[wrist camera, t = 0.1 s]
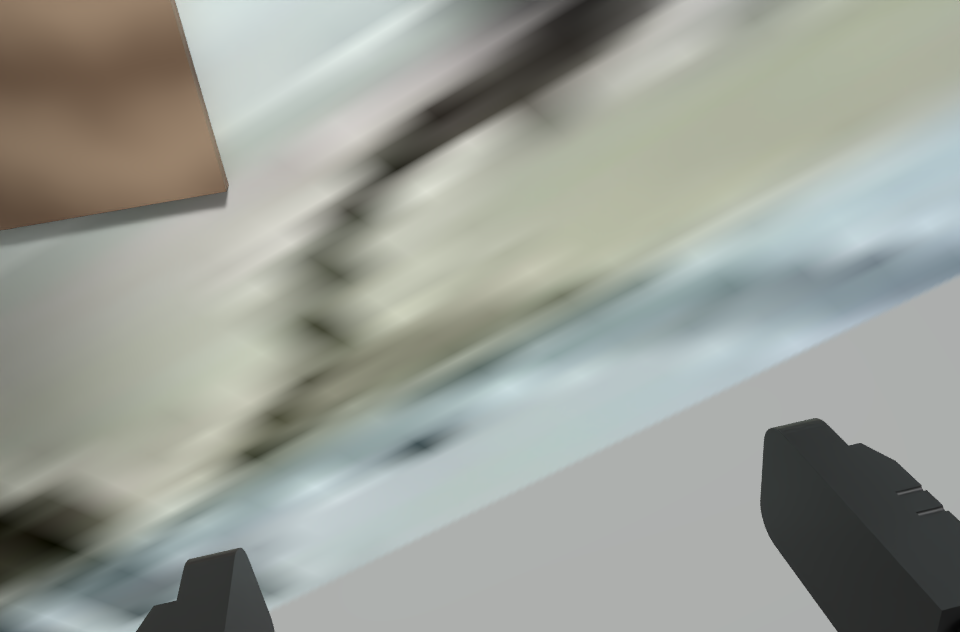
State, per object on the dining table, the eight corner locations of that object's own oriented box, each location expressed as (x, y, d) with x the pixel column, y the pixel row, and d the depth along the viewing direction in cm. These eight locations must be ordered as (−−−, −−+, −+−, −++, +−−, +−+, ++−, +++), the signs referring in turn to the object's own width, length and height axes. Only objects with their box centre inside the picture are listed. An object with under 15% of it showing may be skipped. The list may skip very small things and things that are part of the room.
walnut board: (-186, -107, 29) (-201, -108, 28) (132, -147, 31) (126, -148, 30) (-27, 228, 36) (-36, 236, 35) (228, 185, 37) (226, 191, 36)
